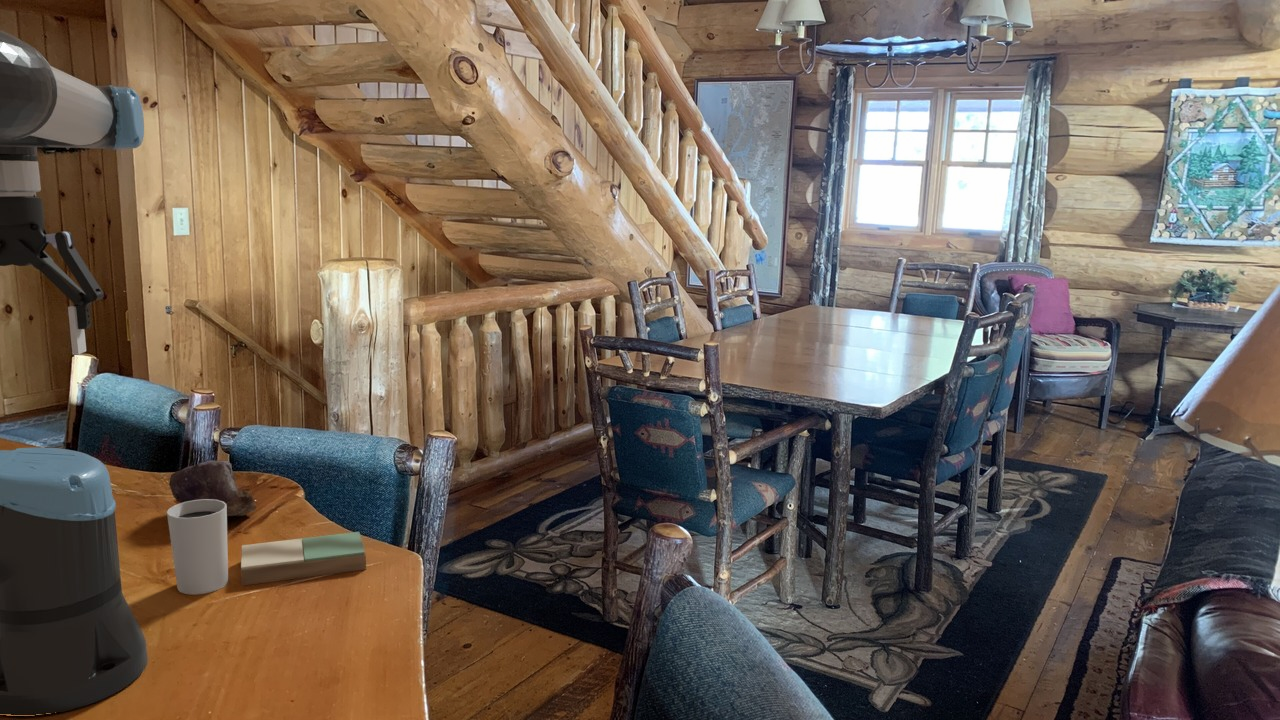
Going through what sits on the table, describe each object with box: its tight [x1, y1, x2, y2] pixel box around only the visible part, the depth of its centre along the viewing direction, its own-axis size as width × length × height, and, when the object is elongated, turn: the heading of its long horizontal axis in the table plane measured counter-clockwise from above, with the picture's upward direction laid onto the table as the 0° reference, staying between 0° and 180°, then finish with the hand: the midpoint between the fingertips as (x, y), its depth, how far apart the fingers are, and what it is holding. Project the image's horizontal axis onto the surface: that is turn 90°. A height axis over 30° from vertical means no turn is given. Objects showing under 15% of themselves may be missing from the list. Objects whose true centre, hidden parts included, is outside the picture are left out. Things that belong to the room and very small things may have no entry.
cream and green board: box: [240, 531, 367, 586], centre depth 125 cm, size 8×15×2 cm, turn 112°
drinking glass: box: [166, 499, 229, 596], centre depth 118 cm, size 7×7×10 cm
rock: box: [168, 459, 257, 518], centre depth 141 cm, size 12×9×10 cm
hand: (25, 354), depth 129 cm, fingers open, 13 cm apart
